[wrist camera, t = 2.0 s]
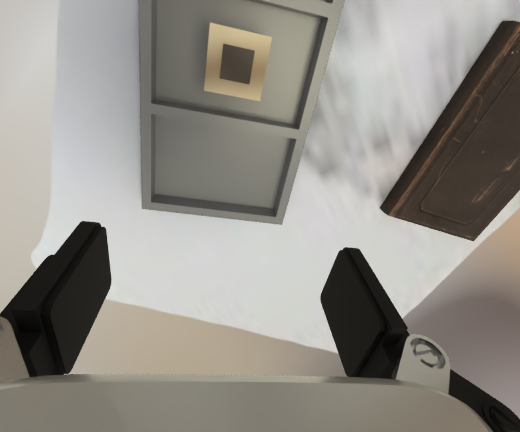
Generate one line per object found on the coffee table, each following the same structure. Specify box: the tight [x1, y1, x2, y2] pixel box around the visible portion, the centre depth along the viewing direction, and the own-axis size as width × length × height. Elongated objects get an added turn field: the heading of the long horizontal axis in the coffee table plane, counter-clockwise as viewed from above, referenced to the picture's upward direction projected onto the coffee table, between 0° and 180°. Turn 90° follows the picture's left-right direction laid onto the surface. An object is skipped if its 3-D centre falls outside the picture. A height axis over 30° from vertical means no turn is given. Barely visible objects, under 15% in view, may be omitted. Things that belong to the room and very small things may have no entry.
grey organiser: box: [139, 0, 345, 225], centre depth 28 cm, size 34×17×2 cm, turn 169°
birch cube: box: [204, 23, 272, 101], centre depth 26 cm, size 5×5×5 cm
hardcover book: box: [380, 21, 520, 241], centre depth 36 cm, size 16×23×2 cm
